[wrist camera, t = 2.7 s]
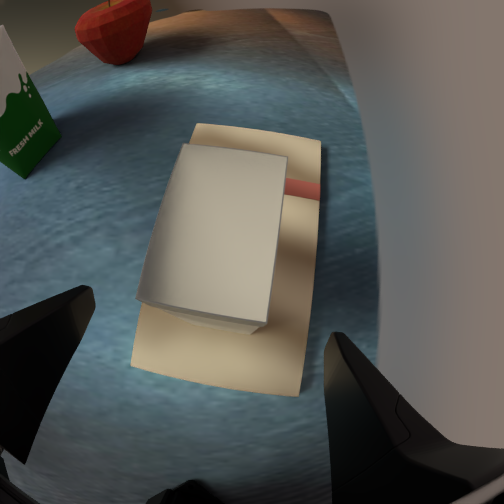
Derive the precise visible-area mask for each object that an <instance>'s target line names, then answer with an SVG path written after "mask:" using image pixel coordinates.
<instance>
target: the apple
mask: <svg viewBox="0 0 504 504" xmlns="http://www.w3.org/2000/svg"><path fill="white" fill-rule="evenodd" d="M151 13H152V7H151V3H150V0H108V1H107V2H104V3H102V4H100V5H98V6H96V7H94V8H92V9H90V10H88V11H87V12H86V13H84V14H83V15H82V16H81V17H80V19H79V20H78V22H77V24H76V27H75V32H76V36H77V39H78V41H79V42H80V43H81V44H82V45H84V46H85V47H86V48H87V49H88V50H89V51H90V52H91V53H93V54H94V55H95V56H96V57H98V58H99V59H100V60H101V61H102V62H104V63H108V64H113V65H120V64H124V63H126V62H129V61H131V60H132V59H133V58H134V57H135V56H136V54H137V53H138V52H139V51H140V49H141V48H142V47H143V44H144V40H145V36H146V33H147V29H148V25H149V21H150V17H151Z"/></svg>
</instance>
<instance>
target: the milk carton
mask: <svg viewBox="0 0 504 504" xmlns="http://www.w3.org/2000/svg"><path fill="white" fill-rule="evenodd" d="M61 137H62V136H61V134H60V132H59V130H58V128H57V127H56V125H55V123H54V121H53V119H52V117H51V115H50V113H49V111H48V109H47V107H46V105H45V104H44V102H43V100H42V98H41V96H40V94H39V93H38V91H37V89H36V87H35V86H34V84H33V82H32V80H31V78H30V77H29V75H28V73H27V71H26V69H25V67H24V65H23V63H22V61H21V60H20V58H19V56H18V54H17V52H16V50H15V48H14V47H13V43H12V41H11V40H10V38H9V36H8V34H7V32H6V30H5V28H4V26H3V25H1V26H0V162H1V163H3V164H4V165H5V166H7V167H8V168H10V169H11V170H12V171H14V172H15V173H17V174H18V175H19V176H21V177H22V178H23V179H25V178H26V177H27V176H28V175H29V173H30V172H31V171H32V169H33V168H34V167H35V166H36V165H37V163H38V162H39V161H40V160H41V159H42V157H43V156H44V155H45V154H46V153H47V152H48V151H49V149H50V148H51V147H52V146H53V145H54V144H55V143H56V142H57V141H58V140H59V139H60V138H61Z"/></svg>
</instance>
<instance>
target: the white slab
mask: <svg viewBox="0 0 504 504" xmlns="http://www.w3.org/2000/svg"><path fill="white" fill-rule="evenodd" d="M287 165H288V156H282V155H276V154H270V153H264V152H257V151H251V150H243V149H236V148H228V147H219V146H210V145H200V144H188V143H183V145H182V147H181V150H180V152H179V155H178V158H177V160H176V163H175V166H174V168H173V171H172V174H171V177H170V180H169V182H168V185H167V188H166V191H165V194H164V197H163V200H162V203H161V206H160V209H159V213H158V216H157V219H156V222H155V226H154V229H153V232H152V236H151V239H150V243H149V246H148V250H147V254H146V257H145V261H144V265H143V269H142V273H141V277H140V281H139V285H138V290H137V294H136V298H135V299H137V300H139V301H141V302H143V303H145V304H147V305H149V306H152V307H156V308H159V309H161V310H163V311H165V312H167V313H169V314H171V315H173V316H175V317H177V318H180V319H182V320H184V321H186V322H188V323H190V324H193V325H197V326H203V327H208V328H213V329H219V330H224V331H230V332H236V333H242V334H249V335H250V334H252V333H253V332H254V331H255V330H257V329H258V328H259V327H263V326H265V325H266V324H267V321H268V314H269V308H270V301H271V293H272V286H273V279H274V272H275V264H276V257H277V249H278V241H279V233H280V225H281V217H282V209H283V200H284V192H285V183H286V174H287Z"/></svg>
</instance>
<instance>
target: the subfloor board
mask: <svg viewBox="0 0 504 504" xmlns="http://www.w3.org/2000/svg"><path fill="white" fill-rule="evenodd" d="M189 144H200V145H210V146H219V147H228V148H236V149H243V150H251V151H257V152H264V153H270V154H276V155H282V156H288V165H287V174H286V183H285V192H284V200H283V209H282V217H281V225H280V233H279V241H278V249H277V257H276V264H275V272H274V279H273V286H272V293H271V301H270V308H269V314H268V321H267V324H266V325H265V326H263V327H259V328H258V329H257V330H255V331H254V332H253V333H252V334H250V335H249V334H242V333H236V332H230V331H224V330H219V329H213V328H208V327H203V326H197V325H193V324H190V323H188V322H186V321H184V320H182V319H180V318H177V317H175V316H173V315H171V314H169V313H167V312H165V311H163V310H161V309H159V308H156V307H152V306H149V305H147V304H145V303H143V302H142V305H141V310H140V315H139V320H138V325H137V330H136V335H135V341H134V347H133V352H132V359H131V365H130V366H133V367H136V368H140V369H143V370H147V371H150V372H154V373H158V374H162V375H166V376H170V377H174V378H178V379H182V380H187V381H191V382H196V383H201V384H206V385H211V386H217V387H222V388H228V389H234V390H241V391H248V392H255V393H263V394H272V395H282V396H294V397H299V391H300V385H301V379H302V372H303V366H304V359H305V352H306V345H307V337H308V329H309V321H310V313H311V304H312V294H313V284H314V274H315V262H316V249H317V235H318V219H319V201H320V169H321V141H318V140H313V139H308V138H303V137H298V136H293V135H287V134H281V133H275V132H269V131H263V130H256V129H248V128H240V127H232V126H223V125H212V124H200V123H197V125H196V127H195V130H194V132H193V135H192V137H191V140H190V142H189Z"/></svg>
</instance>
